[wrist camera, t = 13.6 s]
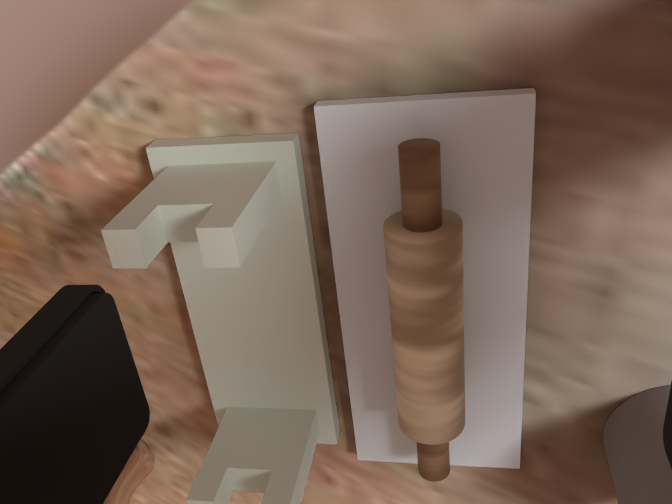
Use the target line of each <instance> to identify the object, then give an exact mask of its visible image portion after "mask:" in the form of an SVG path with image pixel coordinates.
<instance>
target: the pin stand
mask: <svg viewBox="0 0 672 504" xmlns="http://www.w3.org/2000/svg"><path fill="white" fill-rule="evenodd" d="M146 152H147V155H148V159H149V163H150V167H151V171H152V175H153V178H154V180H153V181H152V182H151V183H150V184H149V185H148V186H147V187H146V188H145V189H144V190H142V191H141V192H140V193H139V194H138V195H137V196H136V197H135V198H134V199H133V200H132V201H131V202H130V203H129V204H128V205H127V206H126V207H125V208H124V209H123V210H121V211H120V212H119V213H118V214H117V215H116V216H115V217H114V218H113V219H112V220H111V221H110V222H109V223H108V224H107V225H106V226H105V227H104V228H103V229H102V230H101V232H102V235H103V238H104V242H105V245H106V248H107V251H108V254H109V257H110V261H111V264H112V267H113V269H137V268H147V267H148V266H149V265H150V263H151V262H152V261H153V260H154V259H155V257H156V256H157V255H158V254H159V252H160V251H161V250H162V249H163V248H164V246H165V245H166V244H167V243H168V242H170V244H171V247H172V251H173V255H174V259H175V263H176V267H177V270H178V274H179V278H180V282H181V286H182V290H183V293H184V297H185V301H186V305H187V309H188V313H189V316H190V320H191V324H192V328H193V332H194V336H195V339H196V343H197V347H198V351H199V355H200V359H201V363H202V366H203V370H204V374H205V378H206V382H207V386H208V389H209V393H210V397H211V401H212V405H213V409H214V412H215V416H216V420H217V424H218V430H217V432H216V434H215V436H214V439H213V441H212V443H211V445H210V448H209V450H208V452H207V454H206V457H205V459H204V461H203V463H202V466H201V468H200V470H199V472H198V474H197V477H196V479H195V481H194V483H193V486H192V488H191V490H190V492H189V495H188V497H187V499H186V501H187V504H228V503H229V500H230V498H231V495H232V492H233V491H244V492H260V493H265V494H264V497H263V500H262V503H261V504H301V503H302V499H303V495H304V491H305V487H306V483H307V480H308V476H309V472H310V468H311V464H312V460H313V456H314V452H315V448H316V444H335V445H337V443H338V438H339V433H340V428H339V421H338V413H337V406H336V399H335V392H334V385H333V378H332V370H331V363H330V356H329V349H328V342H327V335H326V327H325V320H324V313H323V306H322V299H321V292H320V284H319V277H318V270H317V263H316V256H315V248H314V241H313V234H312V227H311V220H310V213H309V205H308V198H307V191H306V184H305V177H304V170H303V162H302V155H301V148H300V141H299V134H298V133H286V134H266V135H246V136H227V137H207V138H187V139H167V140H154V141H153V142H152V143H151V144H150V145H148V146H147V147H146Z"/></svg>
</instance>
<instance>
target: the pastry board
mask: <svg viewBox="0 0 672 504" xmlns="http://www.w3.org/2000/svg"><path fill="white" fill-rule="evenodd" d="M535 106H536V92H535V89H534V88H524V89H508V90H491V91H474V92H458V93H441V94H425V95H408V96H391V97H375V98H358V99H341V100H325V101H317V102H316V104H315V105H314V114H315V122H316V130H317V138H318V146H319V154H320V162H321V170H322V178H323V186H324V194H325V202H326V210H327V218H328V226H329V234H330V242H331V250H332V258H333V266H334V274H335V282H336V290H337V298H338V306H339V314H340V322H341V330H342V338H343V346H344V354H345V362H346V370H347V378H348V386H349V394H350V402H351V410H352V418H353V426H354V434H355V442H356V450H357V458H358V460H362V461H381V462H400V463H418V458H417V443H416V441H413V440H411V439H410V438H408V437H407V436H406V435H405V434H404V433H403V432H402V430H401V429H400V426H399V420H398V407H397V395H396V382H395V370H394V357H393V344H392V332H391V319H390V307H389V294H388V282H387V269H386V257H385V244H384V231H383V224H384V221H385V220H386V219H387V218H388V217H389V216H391V215H392V214H394V213H396V212H398V211H401V210H402V205H401V189H400V173H399V158H398V145H399V144H400V143H402V142H404V141H406V140H410V139H416V138H429V139H434V140H437V141H439V142H440V157H441V190H442V208H444V209H447V210H450V211H453V212H455V213H456V214H458V215H459V216H460V217H461V219H462V221H463V287H464V363H465V427H464V429H463V431H462V432H461V434H460V435H459V436H458V437H456V438H455V439H453V440H451V441H449V457H450V465H457V466H476V467H496V468H515V469H520V453H521V430H522V406H523V383H524V360H525V337H526V314H527V291H528V268H529V245H530V222H531V198H532V175H533V152H534V129H535Z"/></svg>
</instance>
